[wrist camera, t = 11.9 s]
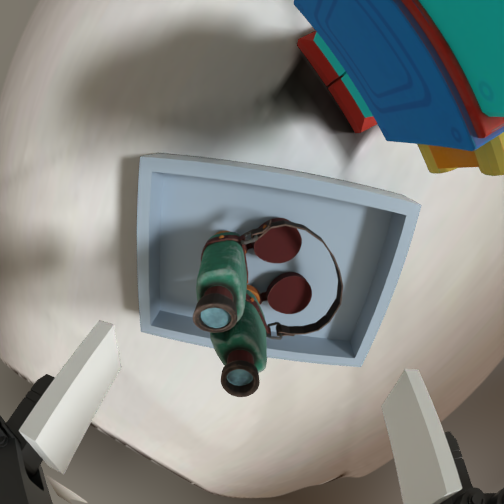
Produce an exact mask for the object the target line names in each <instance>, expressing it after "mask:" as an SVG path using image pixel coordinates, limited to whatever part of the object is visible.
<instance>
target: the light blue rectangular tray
mask: <svg viewBox="0 0 504 504" xmlns="http://www.w3.org/2000/svg"><path fill="white" fill-rule="evenodd" d="M420 208H421V205H420V204H419V203H417V202H415V201H413V200H411V199H409V198H408V197H406V196H404V195H401V194H397V193H393V192H390V191H386V190H382V189H378V188H374V187H370V186H365V185H361V184H357V183H353V182H348V181H344V180H339V179H334V178H330V177H325V176H320V175H315V174H310V173H304V172H299V171H294V170H288V169H282V168H276V167H270V166H264V165H258V164H251V163H244V162H237V161H230V160H222V159H214V158H205V157H196V156H187V155H176V154H165V153H156V154H151V155H145V156H140V166H139V181H138V204H137V275H138V297H139V313H140V326H141V332H144V333H148V334H152V335H156V336H160V337H164V338H169V339H173V340H177V341H182V342H186V343H191V344H196V345H200V346H205V347H210V348H214V347H213V344H212V342H211V339H210V332H207V331H203V330H201V329H200V328H198V327H197V326H196V325H195V324H194V322H193V313H194V310H195V308H196V305H197V303H198V302H197V294H196V283H197V277H198V273H199V269H200V264H201V254H202V250H203V248H204V246H205V244H206V242H207V240H209V238H210V237H212V236H213V235H215V234H216V233H217V232H219V231H230V232H236V233H238V234H239V235H240V236H241V235H243V234H244V233H246V232H248V231H250V230H252V229H257V228H259V226H261V225H262V224H263V223H264V222H266V221H268V220H270V219H272V218H285V219H288V220H289V221H291V222H294V223H298V224H302V225H304V226H306V227H307V228H309V229H310V230H311V231H313V232H314V233H316V234H317V235H318V236H320V237H321V238H322V240H323V241H324V242H325V244H326V245H327V247H328V248H329V250H330V251H331V252H332V254H333V255H334V257H335V259H336V262H337V264H338V267H339V269H340V273H341V277H342V282H343V294H342V302H341V305H340V307H339V309H338V310H337V312H336V313H335V315H334V316H333V318H332V320H331V321H330V322H329V323H328V324H327V325H326V326H324V327H323V328H322V329H320V330H319V331H316V332H312V333H308V334H302V335H295V336H283V338H282V339H281V340H276V339H270V338H268V337H266V341H267V357H269V358H276V359H284V360H292V361H300V362H309V363H318V364H329V365H340V366H354V367H361V366H362V364H363V362H364V360H365V358H366V356H367V354H368V352H369V349H370V347H371V345H372V343H373V341H374V339H375V336H376V334H377V332H378V329H379V327H380V325H381V322H382V320H383V318H384V315H385V313H386V310H387V308H388V305H389V303H390V300H391V298H392V295H393V293H394V290H395V287H396V285H397V282H398V279H399V276H400V274H401V271H402V268H403V265H404V262H405V259H406V256H407V253H408V250H409V247H410V243H411V240H412V237H413V233H414V230H415V227H416V223H417V220H418V216H419V212H420ZM297 230H298V231H299V233H300V235H301V238H302V245H301V248H300V251H299V252H298V254H297V255H296V256H295V257H294V258H293V259H291V260H289V261H287V262H285V263H269V262H266V261H263V260H262V259H260V258H259V257H258V256H257V255H256V254H255V252H254V249H253V248H252V249H249V250H248V251H247V253H246V260H247V267H248V283H247V284H248V285H251V286H253V287H255V288H256V289H257V290H258V291H259V292H260V293H263V292H266V291H267V288H268V286H269V284H270V283H271V282H272V281H273V280H274V279H275V278H276V277H277V276H279V275H280V274H283V273H285V272H296V273H299V274H301V275H302V276H303V277H304V278H305V279H306V280H307V282H308V283H309V285H310V286H311V289H312V298H311V301H310V303H309V304H308V306H307V307H306V308H305V309H304V310H302V311H301V312H298V313H295V314H284V313H280V312H277V311H275V310H274V309H272V308H271V307H270V305H269V303H268V301H267V300H266V301H263V302H262V303H261V304H260V307H261V309H262V311H263V314H264V317H265V321H266V324H267V325H268V324H270V323H274V322H279V323H280V324H282V325H286V326H304V325H308V324H312V323H316V322H317V321H318V320H319V319H321V318H322V317H323V316H324V315H326V313H327V312H328V310H329V309H330V307H331V305H332V304H333V302H334V300H335V299H336V296H337V286H338V277H337V273H336V269H335V265H334V262H333V260H332V258H331V255H330V253H329V251H328V250H327V248H326V247H325V245H324V244H323V243H322V242H321V241H319V240H318V239H317V238H315V237H314V236H312V235H311V234H309V233H308V232H307V231H305V230H301V229H297ZM249 239H252V238H251V234H249V235H248V236H246V237H245V241H246V240H249ZM270 328H271V336H275V337H279V336H277V333H276V325H274V326H270Z"/></svg>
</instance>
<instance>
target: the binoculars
mask: <svg viewBox="0 0 504 504" xmlns="http://www.w3.org/2000/svg"><path fill="white" fill-rule="evenodd" d="M297 229H301V230H305V231H307V232H308V233H309V234H311V235H312V236H314V237H315V238H317V239H318V240H319V241H321V242H322V243H323V244H324V245H325V247H326V248H327V250H328V251H329V253H330V255H331V258H332V260H333V262H334V265H335V269H336V273H337V277H338V286H337V296H336V299H335V300H334V302H333V304H332V305H331V307H330V309H329V310H328V312H327V313H326V315H324V316H323V317H322V318H321V319H319V320H318V321H317V322H316V323H312V324H308V325H304V326H286V325H282V324H280V323H279V322H274V323H270V324H268V325H267V324H266V321H265V317H264V314H263V311H262V309H261V307H260V304H261V303H262V302H263V301H266V300H267V301H268V303H269V305H270V307H271V308H272V309H274V310H275V311H277V312H280V313H284V314H295V313H298V312H301V311H302V310H304V309H305V308H306V307H307V306H308V304H309V303H310V301H311V298H312V289H311V286H310V285H309V283H308V282H307V280H306V279H305V278H304V277H303V276H302V275H301V274H299V273H296V272H285V273H283V274H280V275H279V276H277V277H276V278H275V279H274V280H273V281H272V282H271V283H270V284H269V286H268V288H267V291H266V292H263V293H260V292H259V291H258V290H257V289H256V288H255V287H253V286H251V285H248V284H247V283H248V267H247V260H246V253H247V251H248V250H249V249H252V248H253V249H254V252H255V254H256V255H257V256H258V257H259V258H260V259H262V260H263V261H266V262H269V263H285V262H287V261H289V260H291V259H293V258H294V257H295V256H296V255H297V254H298V252H299V251H300V248H301V245H302V238H301V235H300V233H299V231H298V230H297ZM249 234H251V238H252V239H249V240H246V241H245V237H246V236H248V235H249ZM196 294H197V302H198V303H197V305H196V308H195V310H194V313H193V322H194V324H195V325H196V326H197V327H198V328H200V329H201V330H203V331H207V332H210V339H211V342H212V344H213V347H214V349H215V351H216V353H217V355H218V357H219V358H220V360H221V361H222V363H223V364H224V365H225V366H224V368H223V370H222V375H221V384H222V386H223V388H224V389H225V391H227V392H228V393H229V394H231V395H233V396H237V397H246V396H249V395H251V394H253V393H254V392H255V391H256V390H257V389H258V386H259V375H258V373H259V372H261V371H263V370H264V369H265V367H266V363H267V341H266V337H268V338H270V339H276V340H281V339H282V338H283V336H295V335H302V334H308V333H312V332H316V331H319V330H320V329H322V328H323V327H324V326H326V325H327V324H328V323H329V322H330V321H331V320H332V318H333V316H334V315H335V313H336V312H337V310H338V309H339V307H340V305H341V302H342V294H343V282H342V277H341V273H340V269H339V267H338V264H337V262H336V259H335V257H334V255H333V254H332V252H331V251H330V250H329V248H328V247H327V245H326V244H325V242H324V241H323V240H322V238H321V237H320V236H318V235H317V234H316V233H314V232H313V231H311V230H310V229H309V228H307V227H306V226H304V225H302V224H298V223H294V222H291V221H289V220H288V219H285V218H272V219H270V220H268V221H266V222H264V223H263V224H262V225H261V226H259V228H257V229H252V230H250V231H248V232H246V233H244V234H243V235H241V236H240V235H239V234H238V233H236V232H230V231H219V232H217V233H216V234H215V235H213V236H212V237H210V238H209V240H207V242H206V244H205V246H204V248H203V250H202V254H201V264H200V269H199V273H198V277H197V283H196ZM274 325H276V333H277V336H279V337H275V336H271V328H270V326H274Z"/></svg>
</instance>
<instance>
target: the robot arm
mask: <svg viewBox="0 0 504 504" xmlns="http://www.w3.org/2000/svg"><path fill="white" fill-rule="evenodd" d="M121 368H122V366H121V361H120V356H119V351H118V345H117V340H116V334H115V328H114V324H111V323H107V322H104V321H100V320H99V322H98V323H97V324H96V325H95V327H94V328H93V329H92V330H91V332H90V333H89V334H88V335H87V337H86V338H85V339H84V340H83V342H82V343H81V344H80V345H79V347H78V348H77V349H76V351H75V352H74V353H73V355H72V356H71V357H70V358H69V360H68V361H67V362H66V364H65V365H64V366H63V368H62V369H61V370H60V372H59V373H58V374H57V376H56V377H55V378H54V377H52V376H50V375H48V374H46V375H45V376H43V377H42V378H40V379H38V380H37V381H36V383H35V384H34V385H33V387H32V388H31V391H29V392H28V393H27V395H26V397H25V398H24V399H23V400H22V402H21V403H20V404H19V406H18V407H17V409H16V410H15V412H14V413H13V414H12V416H11V417H10V419H9V420H8V421H7V422H6V423H5V421H4V420H3V419H2V417H1V416H0V504H53V503H52V500H51V497H50V494H49V491H48V487H47V484H46V481H45V477H44V473H43V470H42V467H41V465H40V464H41V462H42V460H43V461H44V462H45V463H46V464H47V465H48V466H49V467H51V468H53V469H55V470H57V471H58V472H60V473H62V474H64V473H65V471H66V469H67V467H68V465H69V463H70V461H71V459H72V457H73V455H74V453H75V451H76V449H77V447H78V445H79V443H80V442H81V440H82V438H83V436H84V434H85V432H86V430H87V428H88V426H89V425H90V423H91V421H92V419H93V417H94V415H95V414H96V412H97V410H98V408H99V406H100V404H101V403H102V401H103V399H104V397H105V395H106V394H107V392H108V390H109V388H110V387H111V385H112V383H113V381H114V380H115V378H116V376H117V374H118V373H119V371H120V369H121ZM381 407H382V411H383V414H384V418H385V422H386V426H387V430H388V434H389V438H390V442H391V447H392V451H393V455H394V460H395V464H396V469H397V474H398V479H399V483H400V489H401V494H402V500H403V504H504V488H503V489H502V490H500V491H499V492H498V493H486V494H484V493H483V492H482V491H481V490H480V489H478V488H473V486H472V484H471V482H470V478H469V475H468V472H467V469H466V466H465V463H464V460H463V459H462V454H461V451H459V450H460V449H459V446H458V443H457V440H456V439H455V438H454V436H453V435H452V434H451V433H450V432H444V431H443V428H442V426H441V423H440V420H439V418H438V415H437V413H436V410H435V408H434V405H433V403H432V400H431V398H430V396H429V393H428V391H427V389H426V386H425V384H424V382H423V379H422V377H421V375H420V373H419V370H418V369H405V370H404V372H403V373H402V375H401V377H400V378H399V380H398V381H397V383H396V385H395V386H394V388H393V389H392V391H391V392H390V394H389V395H388V397H387V398H386V400H385V401H384V403H383V404H382V406H381Z"/></svg>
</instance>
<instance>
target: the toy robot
mask: <svg viewBox="0 0 504 504" xmlns="http://www.w3.org/2000/svg"><path fill="white" fill-rule="evenodd" d="M294 5H295V6H296V7H297V9H298V10H299V11H300V12H301V13H302V14H303V16H304V17H305V18H306V19H307V20H308V22H309V23H310V24H311V25H312V26H313V28H314V29H315V30H316V31H314V32H312V33H310V34H308V35H306V36H304V37H302V38H300V39H298V43H297V46H298V47H299V49H300V50H301V51H302V53H303V54H304V55H305V57H306V58H307V59H308V61H309V62H310V64H311V65H312V66H313V68H314V69H315V71H316V72H317V73H318V75H319V76H320V78H321V79H322V81H323V82H324V84H325V85H326V87H327V86H329V85H330V87H329V88H328V90H329V91H330V93H331V94H332V96H333V97H334V99H335V100H336V102H337V104H338V105H339V107H340V108H341V110H342V112H343V113H344V115H345V117H346V118H347V120H348V122H349V123H350V125H351V127H352V128H353V130H354V132H355V133H361V132H363V131H365V130H367V129H369V128H370V127H372V126H374V125H376V124H378V126H379V127H380V129H381V131H382V133H383V135H384V137H385V139H386V141H394V142H406V143H416V144H417V145H418V147H419V149H420V151H421V153H422V156H423V158H424V160H425V163H426V165H427V167H428V170H429V171H430V172H431V173H444V172H448V171H451V170H454V169H456V168H460V167H479V169H480V171H481V173H483V174H485V175H491V176H497V175H504V0H294Z"/></svg>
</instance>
